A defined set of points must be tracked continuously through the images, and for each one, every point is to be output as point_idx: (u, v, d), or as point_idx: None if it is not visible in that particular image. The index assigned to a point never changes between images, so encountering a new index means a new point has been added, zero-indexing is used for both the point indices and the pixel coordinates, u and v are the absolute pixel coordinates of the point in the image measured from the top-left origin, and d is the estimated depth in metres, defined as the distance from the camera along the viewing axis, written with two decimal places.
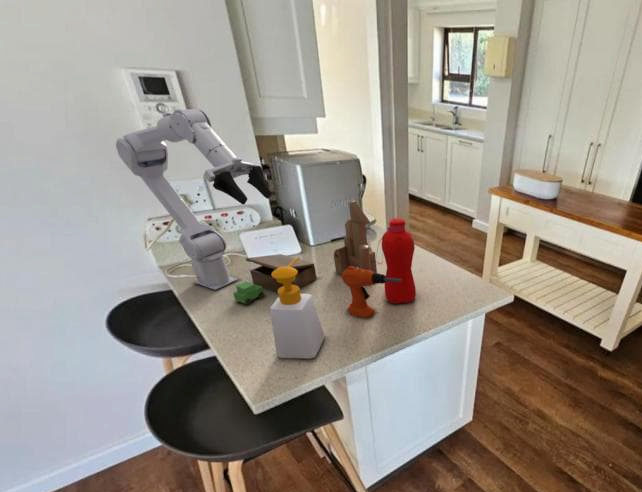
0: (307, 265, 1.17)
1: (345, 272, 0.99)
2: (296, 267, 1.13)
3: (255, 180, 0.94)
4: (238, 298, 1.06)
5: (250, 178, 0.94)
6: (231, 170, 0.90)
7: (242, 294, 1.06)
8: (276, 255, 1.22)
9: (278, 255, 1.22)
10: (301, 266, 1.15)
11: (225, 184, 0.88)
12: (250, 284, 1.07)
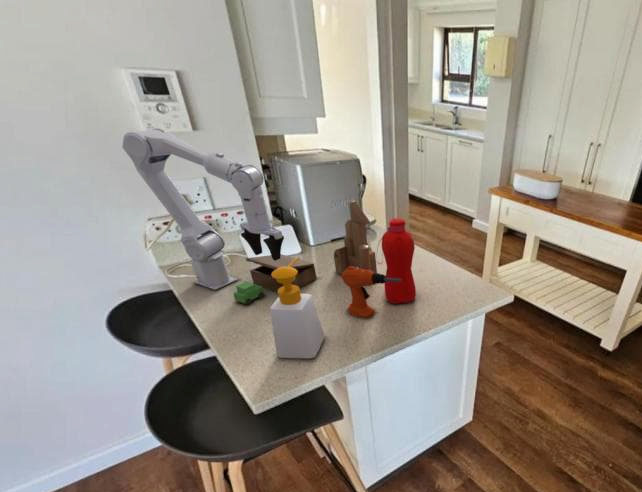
0: (307, 265, 1.17)
1: (345, 272, 0.99)
2: (296, 267, 1.13)
3: (254, 238, 1.10)
4: (238, 298, 1.06)
5: (251, 235, 1.08)
6: None
7: (242, 294, 1.06)
8: None
9: None
10: (301, 266, 1.15)
11: None
12: (250, 284, 1.07)
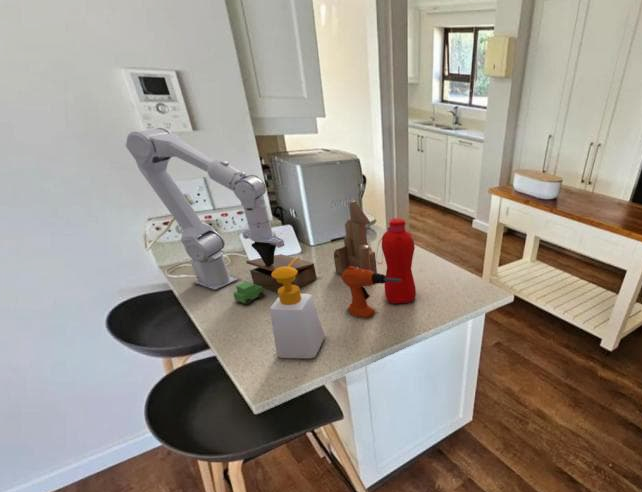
0: (307, 266, 1.17)
1: (345, 272, 0.99)
2: (296, 269, 1.13)
3: None
4: (238, 298, 1.06)
5: None
6: None
7: (242, 294, 1.06)
8: (276, 256, 1.22)
9: (278, 255, 1.22)
10: (301, 267, 1.15)
11: None
12: (250, 284, 1.07)
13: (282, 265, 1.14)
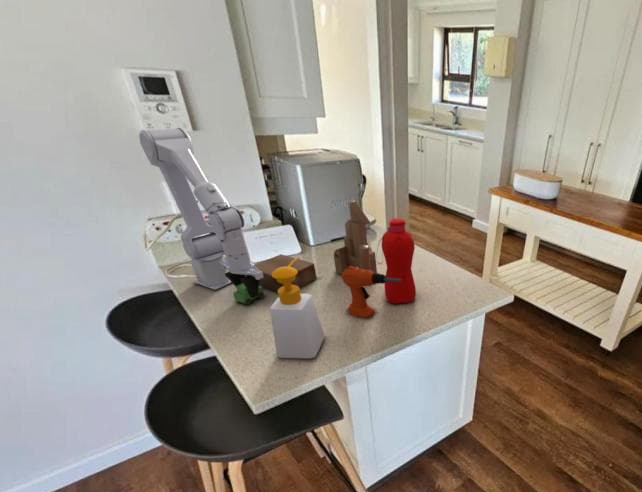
0: (307, 267, 1.18)
1: (345, 272, 0.99)
2: None
3: (239, 278, 1.07)
4: (238, 298, 1.06)
5: (235, 275, 1.06)
6: None
7: (242, 294, 1.06)
8: (276, 257, 1.22)
9: (278, 257, 1.22)
10: (301, 270, 1.16)
11: None
12: None
13: None
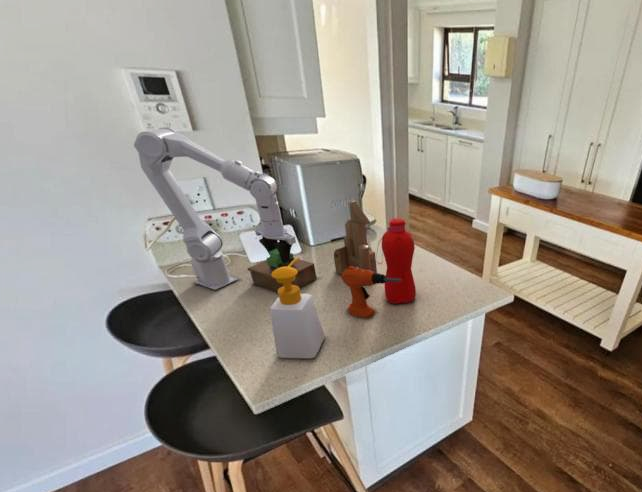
0: (307, 267, 1.18)
1: (345, 272, 0.99)
2: (297, 273, 1.14)
3: (272, 244, 1.14)
4: (271, 263, 1.13)
5: (269, 241, 1.13)
6: None
7: (275, 259, 1.13)
8: None
9: None
10: (301, 270, 1.16)
11: None
12: None
13: None
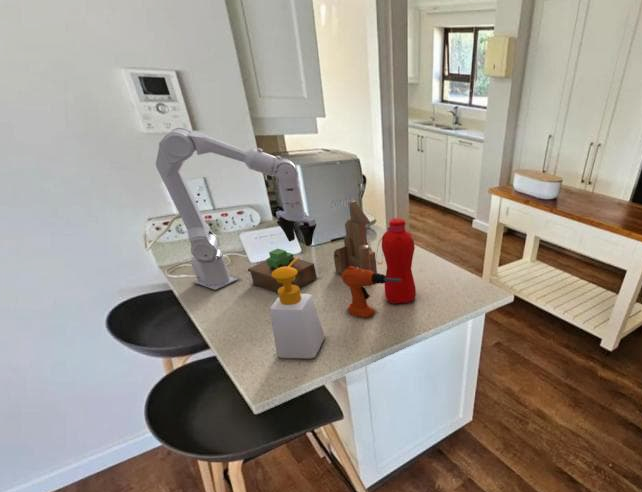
0: (307, 267, 1.18)
1: (345, 272, 0.99)
2: (297, 273, 1.14)
3: (289, 226, 1.20)
4: (271, 263, 1.13)
5: (286, 222, 1.18)
6: None
7: (275, 259, 1.13)
8: None
9: None
10: (301, 270, 1.16)
11: None
12: (282, 251, 1.14)
13: None
